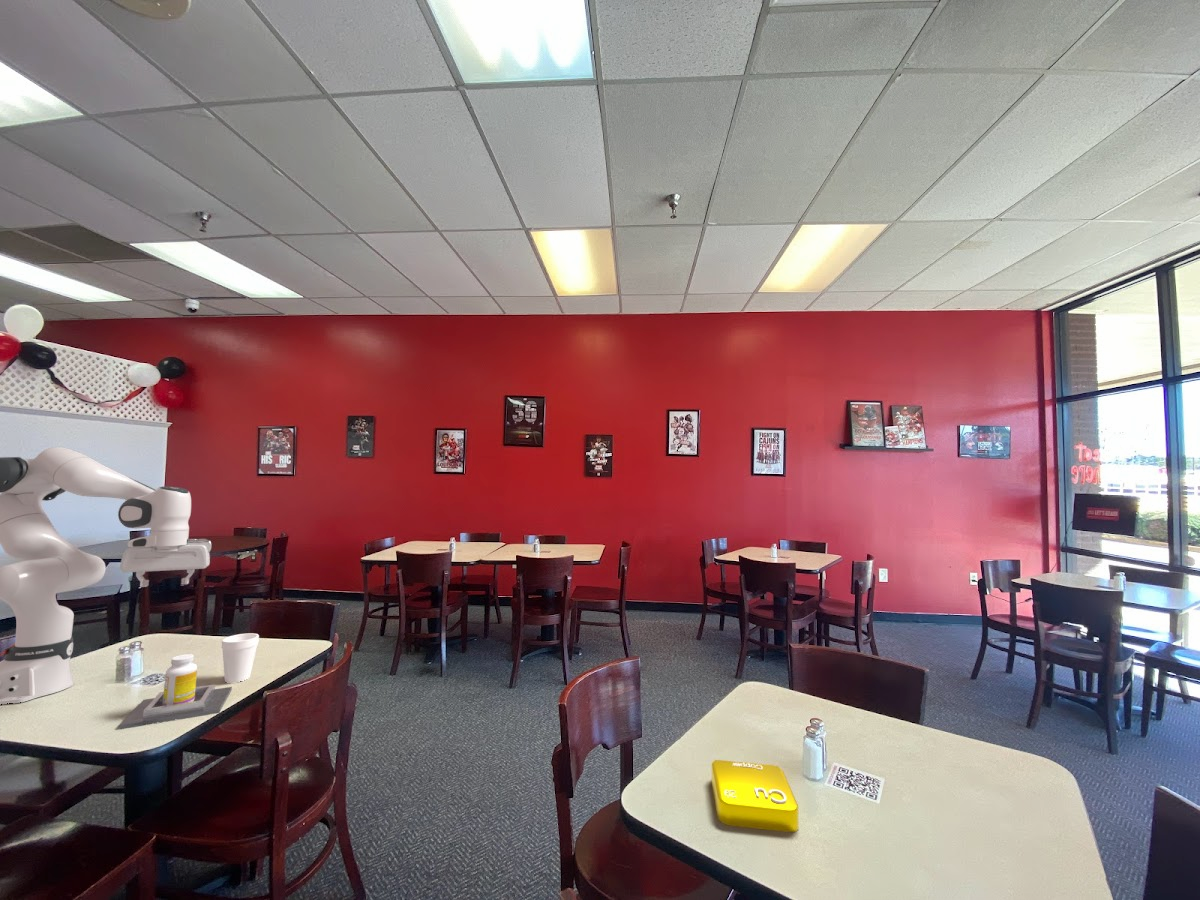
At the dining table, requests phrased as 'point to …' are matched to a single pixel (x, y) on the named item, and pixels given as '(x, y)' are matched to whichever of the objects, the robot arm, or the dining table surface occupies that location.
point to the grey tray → (178, 707)
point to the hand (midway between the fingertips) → (164, 585)
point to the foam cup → (239, 656)
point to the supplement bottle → (180, 680)
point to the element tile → (753, 796)
